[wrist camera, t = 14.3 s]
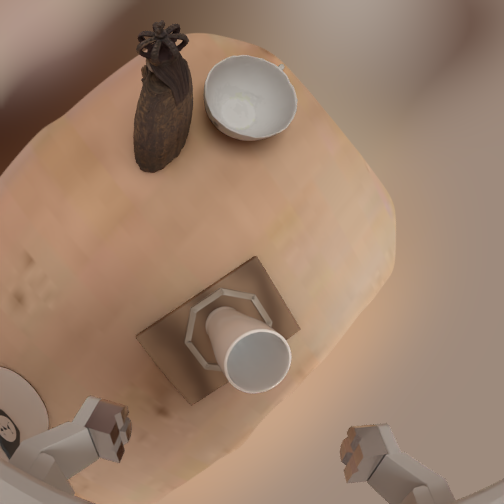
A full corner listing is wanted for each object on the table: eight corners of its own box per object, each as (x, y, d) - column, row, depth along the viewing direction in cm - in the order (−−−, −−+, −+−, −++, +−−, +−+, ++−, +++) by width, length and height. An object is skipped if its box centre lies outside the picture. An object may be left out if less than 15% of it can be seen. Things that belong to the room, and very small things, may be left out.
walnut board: (190, 402, 41) (191, 408, 39) (136, 335, 39) (135, 339, 37) (297, 327, 46) (303, 330, 44) (254, 256, 44) (258, 256, 42)
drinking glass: (256, 325, 43) (305, 360, 28) (221, 356, 41) (254, 407, 27) (226, 290, 41) (264, 313, 27) (188, 323, 40) (207, 363, 26)
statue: (135, 116, 38) (142, -7, 14) (186, 115, 40) (242, -1, 17) (134, 174, 38) (130, 85, 15) (188, 171, 41) (250, 87, 18)
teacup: (243, 171, 43) (262, 156, 35) (177, 118, 40) (182, 92, 32) (298, 107, 46) (322, 87, 38) (240, 60, 42) (256, 32, 35)
